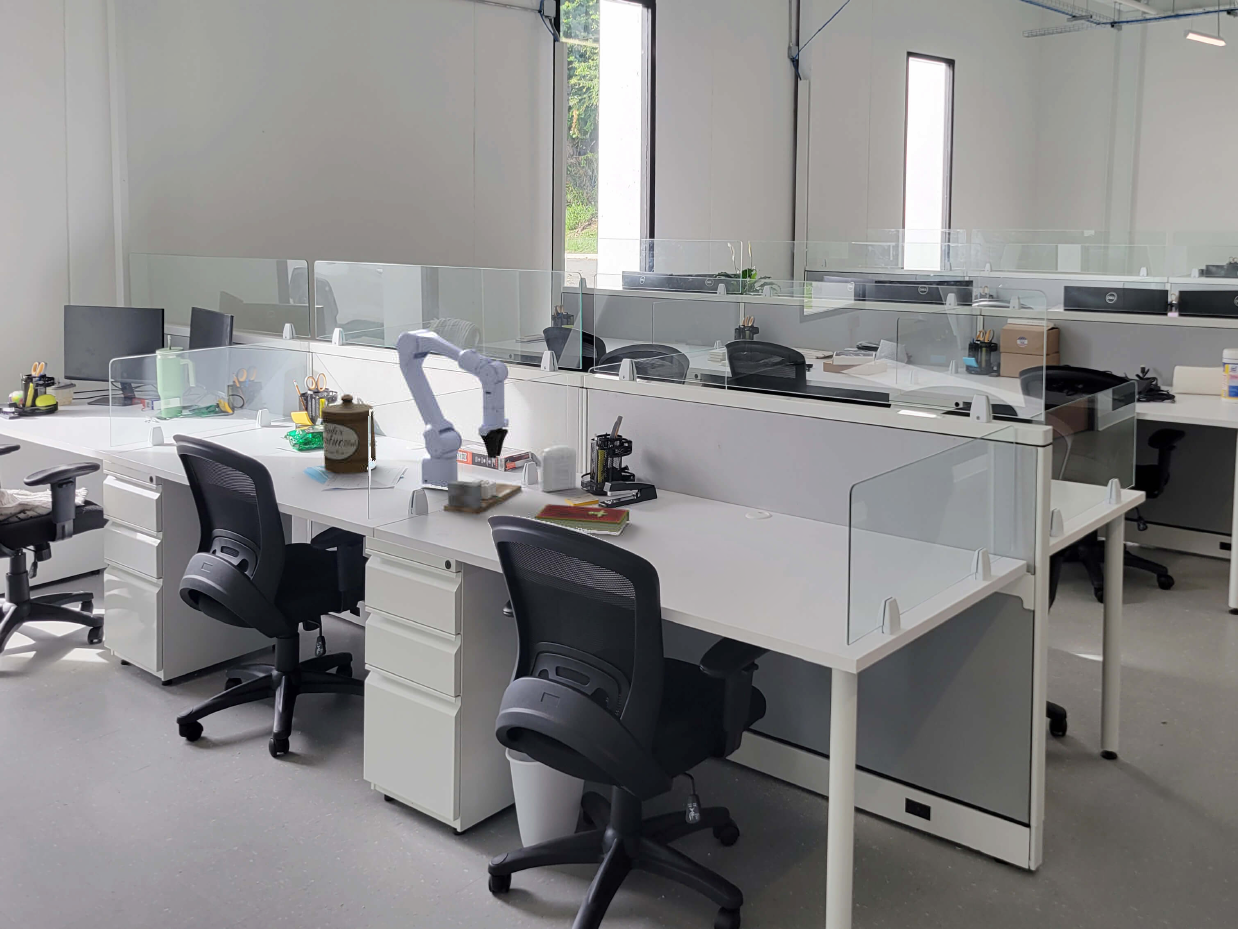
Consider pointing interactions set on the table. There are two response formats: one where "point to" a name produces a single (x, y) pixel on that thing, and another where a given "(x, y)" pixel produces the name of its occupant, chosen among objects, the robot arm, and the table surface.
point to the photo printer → (558, 468)
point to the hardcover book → (585, 517)
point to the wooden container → (347, 436)
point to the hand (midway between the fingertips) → (494, 456)
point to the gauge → (487, 488)
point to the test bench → (484, 501)
